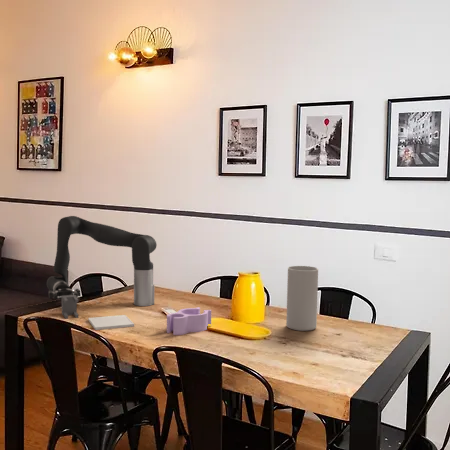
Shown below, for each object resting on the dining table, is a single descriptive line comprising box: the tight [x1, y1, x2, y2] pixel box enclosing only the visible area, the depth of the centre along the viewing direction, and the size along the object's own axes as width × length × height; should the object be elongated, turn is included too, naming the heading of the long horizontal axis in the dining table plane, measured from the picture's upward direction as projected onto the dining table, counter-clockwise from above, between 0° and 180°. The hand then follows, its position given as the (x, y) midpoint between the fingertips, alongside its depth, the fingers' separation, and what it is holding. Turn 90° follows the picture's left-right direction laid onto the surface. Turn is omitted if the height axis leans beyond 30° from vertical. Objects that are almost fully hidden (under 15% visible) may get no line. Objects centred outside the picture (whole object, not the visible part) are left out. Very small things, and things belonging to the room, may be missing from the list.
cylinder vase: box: [285, 265, 319, 332], centre depth 236 cm, size 12×12×25 cm
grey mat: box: [87, 314, 135, 331], centre depth 239 cm, size 16×16×1 cm
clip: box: [166, 306, 212, 336], centre depth 232 cm, size 20×12×7 cm, turn 139°
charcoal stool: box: [61, 295, 79, 319], centre depth 250 cm, size 6×10×8 cm, turn 23°
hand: (66, 296), depth 261 cm, fingers open, 8 cm apart
